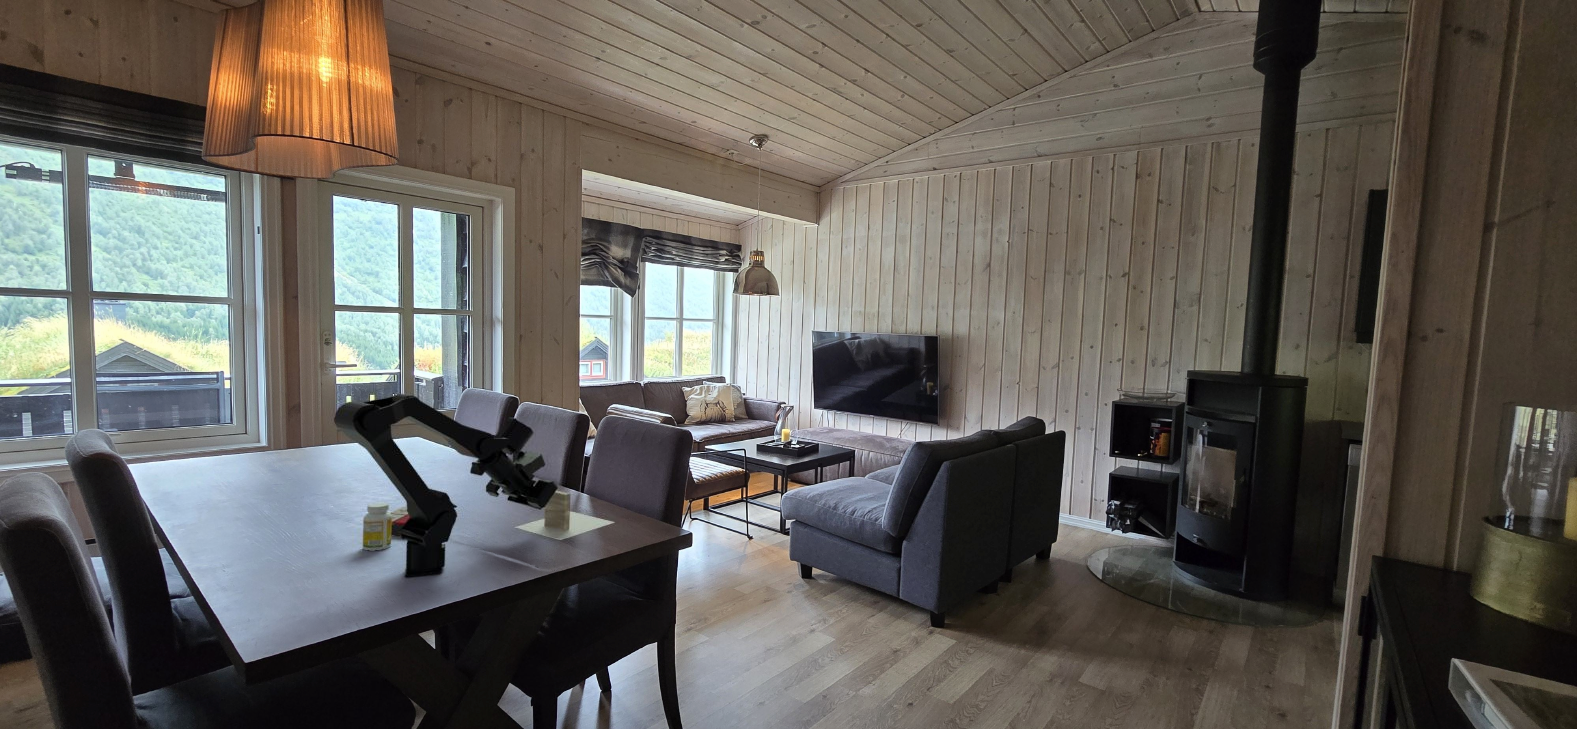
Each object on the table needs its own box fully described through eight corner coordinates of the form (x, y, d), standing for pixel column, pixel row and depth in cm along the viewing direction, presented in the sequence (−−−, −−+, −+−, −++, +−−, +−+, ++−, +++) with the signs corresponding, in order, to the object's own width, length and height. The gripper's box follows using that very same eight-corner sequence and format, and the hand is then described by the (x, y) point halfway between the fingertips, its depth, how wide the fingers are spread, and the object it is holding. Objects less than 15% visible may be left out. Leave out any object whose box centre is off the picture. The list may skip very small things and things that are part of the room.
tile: (564, 530, 162) (565, 494, 161) (544, 525, 165) (545, 490, 165) (569, 529, 163) (570, 493, 163) (549, 524, 167) (550, 488, 166)
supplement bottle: (372, 553, 143) (372, 509, 142) (357, 548, 145) (358, 505, 144) (396, 546, 147) (397, 503, 147) (381, 541, 150) (382, 500, 149)
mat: (560, 542, 155) (560, 540, 155) (514, 529, 163) (514, 527, 163) (614, 524, 171) (614, 522, 171) (570, 513, 179) (570, 511, 178)
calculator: (369, 519, 155) (413, 500, 169) (369, 537, 155) (413, 516, 170) (412, 523, 153) (453, 503, 168) (413, 541, 154) (453, 520, 169)
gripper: (552, 447, 149) (587, 486, 160) (497, 437, 158) (534, 474, 169) (522, 488, 143) (560, 526, 153) (467, 475, 152) (507, 511, 162)
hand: (540, 507), depth 159 cm, fingers closed
